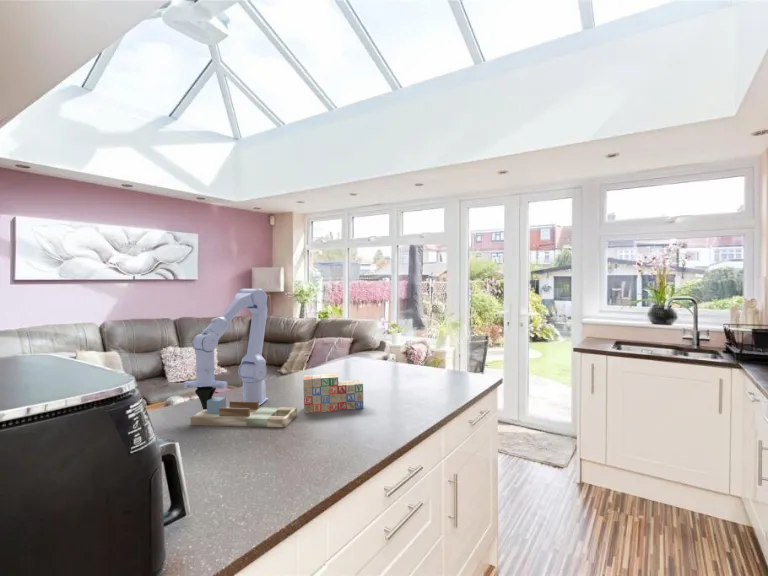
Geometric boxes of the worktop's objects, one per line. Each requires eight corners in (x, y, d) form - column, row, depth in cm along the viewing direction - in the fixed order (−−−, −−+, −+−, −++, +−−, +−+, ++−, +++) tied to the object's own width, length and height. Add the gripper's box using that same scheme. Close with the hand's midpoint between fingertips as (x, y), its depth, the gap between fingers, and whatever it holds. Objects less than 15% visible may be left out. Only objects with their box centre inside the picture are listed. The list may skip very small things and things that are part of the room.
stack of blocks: (361, 404, 155) (361, 371, 155) (363, 409, 149) (363, 375, 149) (303, 408, 152) (303, 374, 151) (303, 413, 146) (303, 378, 145)
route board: (209, 413, 147) (209, 399, 147) (296, 414, 144) (296, 400, 144) (190, 424, 135) (190, 409, 135) (285, 427, 132) (285, 411, 132)
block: (213, 409, 143) (213, 397, 142) (225, 409, 142) (225, 397, 142) (207, 413, 138) (206, 400, 138) (219, 414, 138) (219, 401, 138)
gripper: (178, 371, 137) (179, 411, 137) (219, 372, 136) (220, 412, 136) (190, 367, 144) (191, 405, 144) (229, 367, 143) (230, 406, 143)
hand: (206, 408), depth 141 cm, fingers closed
